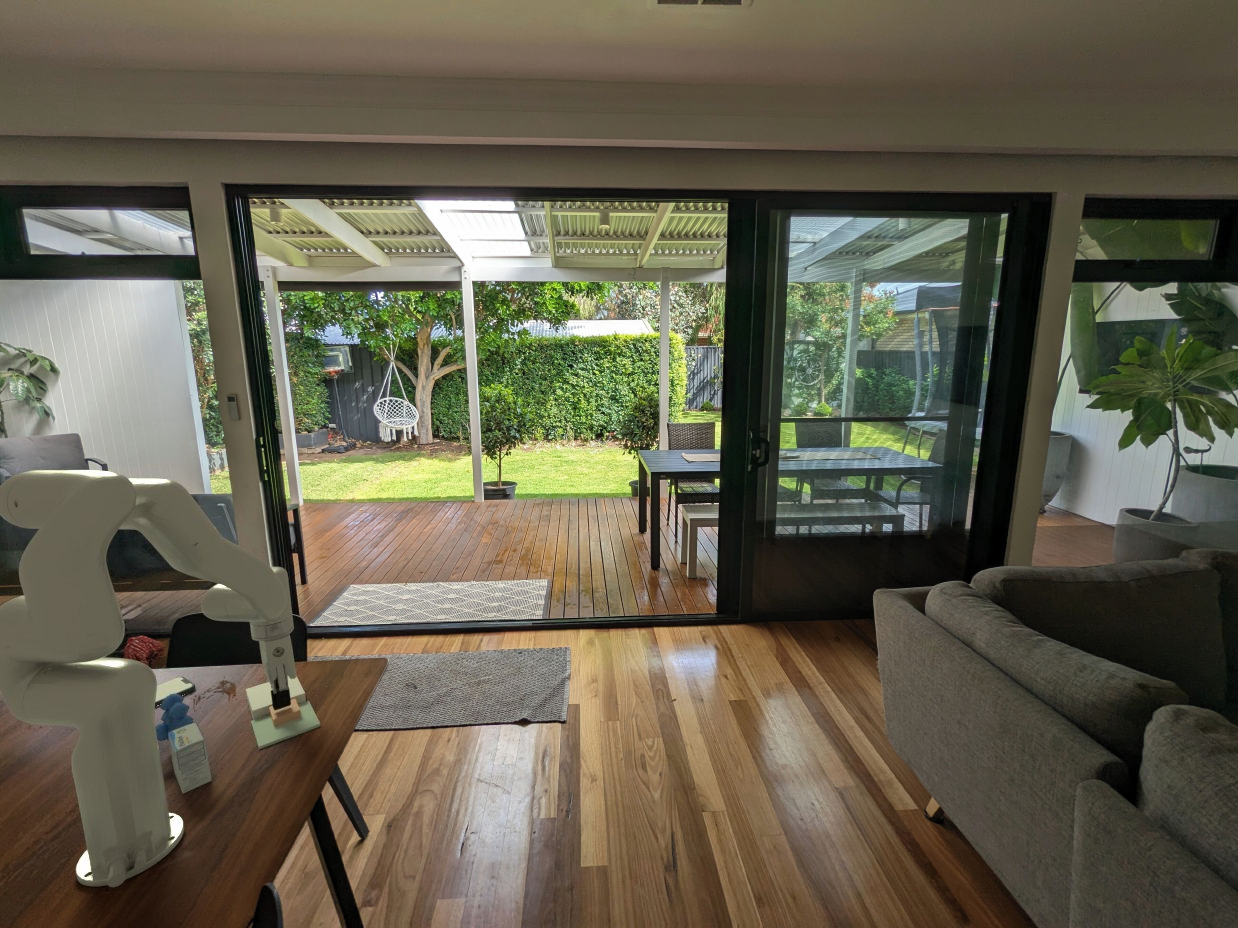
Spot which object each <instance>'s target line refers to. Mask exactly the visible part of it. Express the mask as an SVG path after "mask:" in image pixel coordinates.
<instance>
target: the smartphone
mask: <svg viewBox="0 0 1238 928" xmlns="http://www.w3.org/2000/svg"><path fill="white" fill-rule="evenodd" d="M192 691H193V692H194V691H196V684H194V683H193V682H192V681H190V680H189V679H187V678H185V677H184V676H178V677H175V678H172V679H169V680H168V681H164V682H162V683H159V684H157V692H156V700H155V708H157V707H156V706H157V705H160V704H162V702H163V700H164V699H165V698H166V697H167V696H169V695H170V694H174V693H175V694H178V695H180V696H182V695H184V694H187V693H189V694H191V693H193V692H192ZM190 692H191V693H190ZM187 695H188V694H187ZM184 696H185V695H184ZM182 697H183V696H182ZM160 706H161V705H160Z"/></svg>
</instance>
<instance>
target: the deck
mask: <svg viewBox="0 0 1238 928" xmlns="http://www.w3.org/2000/svg"><path fill="white" fill-rule="evenodd" d="M287 677H288V687H289V690H290V699H293V698H295V699H296V701H297V704H301V703H304V702H307V700H306V692H305V690H304V688H303V686H302V684H301V682H300V680H299V678H298V675H297V676H296V678H295V679H290V677H289V676H288V675H287ZM271 690H273V689H271V685H270V683H269V681H267V682H264V683H261V684H258V685H255V686H251V687H248V688H245V693H246V701H247V704H248V707H249V711H250V714H251V717H252V720H255V719H258V718H261V717H264V716H267V715H269V714H270V713H269V706H272V698H271Z"/></svg>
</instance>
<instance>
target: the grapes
mask: <svg viewBox="0 0 1238 928" xmlns="http://www.w3.org/2000/svg"><path fill="white" fill-rule="evenodd" d="M184 700H185V697H184V696H180V695H178V694H175V693H174V694H170V695H169V696H167V697H166V698H165V699H164V700H163V702H162V704H161V705H160V706H159V708H160V710H162V711H164V712H163V713H162V715H161V718H160V720H161V721H162V723H158V724H156V725H155V728H156V736H157V742H158V741H159V742H162V741H168V742H169V738H168V733H169V732H171V731H173V730H176V729H178V728H181V727H183V726H186V725H189V724H192V723H195V721H194V720H195V719H194V717H192V716H190V715H188V712H189V710H190V707H191V706H190V705H187V704H186V703H184Z"/></svg>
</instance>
